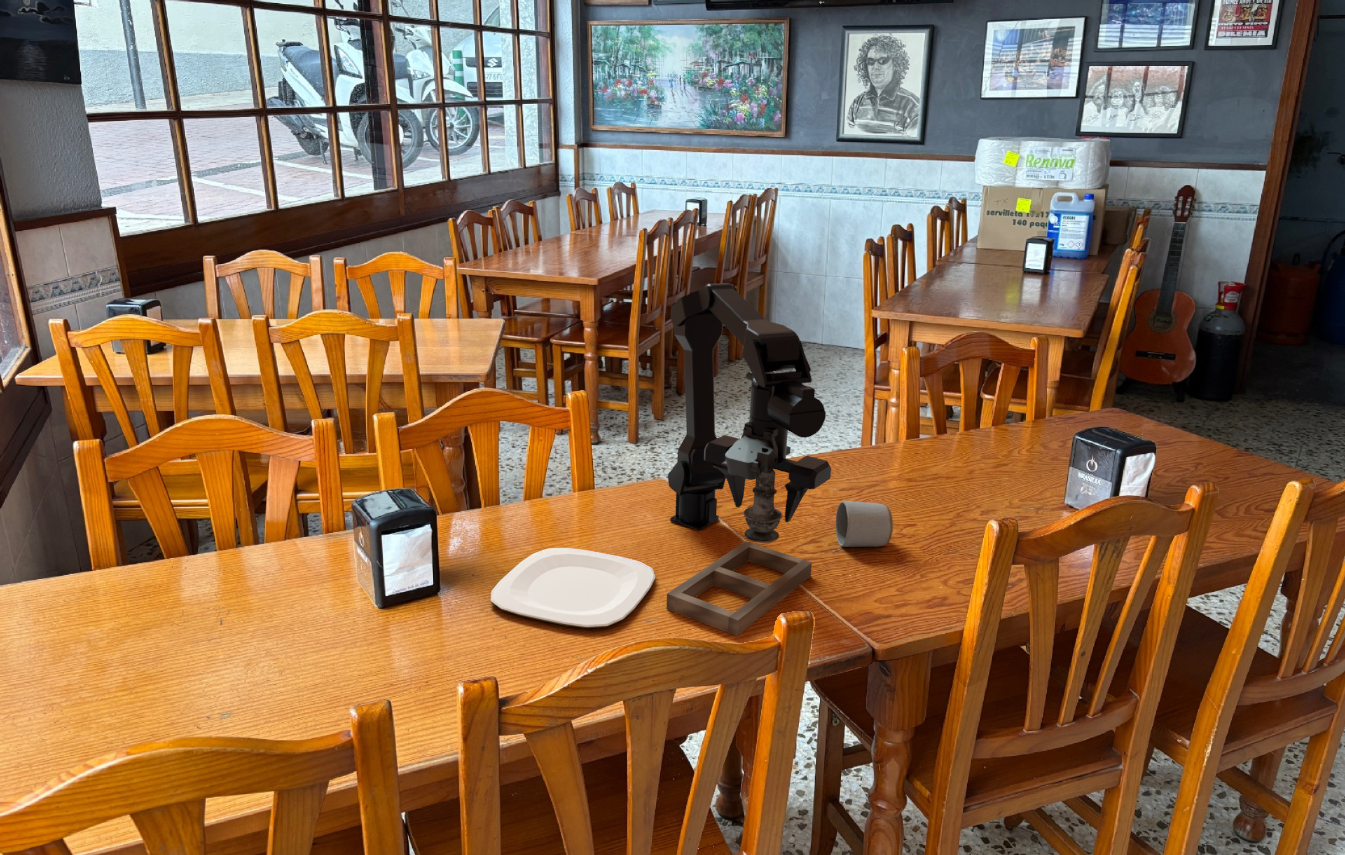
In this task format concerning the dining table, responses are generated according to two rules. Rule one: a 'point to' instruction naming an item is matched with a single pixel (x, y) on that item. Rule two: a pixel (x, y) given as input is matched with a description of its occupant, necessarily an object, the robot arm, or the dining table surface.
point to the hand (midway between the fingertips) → (762, 513)
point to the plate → (574, 587)
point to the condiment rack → (739, 587)
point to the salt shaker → (763, 511)
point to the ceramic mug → (863, 524)
